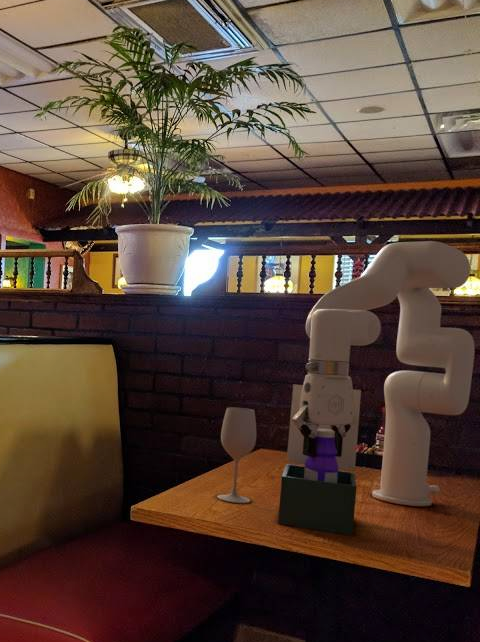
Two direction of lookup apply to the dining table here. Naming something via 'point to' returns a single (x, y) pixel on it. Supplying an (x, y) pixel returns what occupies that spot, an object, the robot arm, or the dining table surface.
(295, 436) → the cooler lid
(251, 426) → the wineglass
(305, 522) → the dark green open box
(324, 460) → the bottle
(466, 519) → the dining table surface
